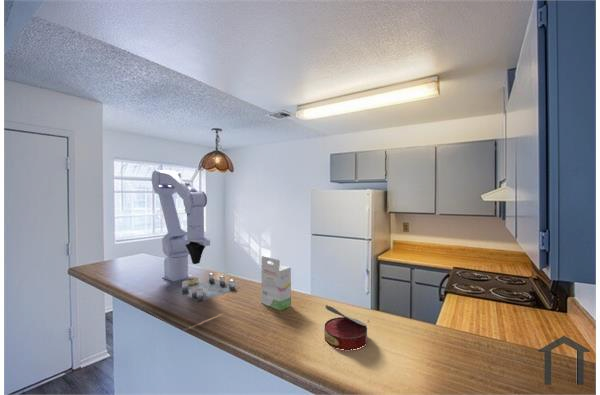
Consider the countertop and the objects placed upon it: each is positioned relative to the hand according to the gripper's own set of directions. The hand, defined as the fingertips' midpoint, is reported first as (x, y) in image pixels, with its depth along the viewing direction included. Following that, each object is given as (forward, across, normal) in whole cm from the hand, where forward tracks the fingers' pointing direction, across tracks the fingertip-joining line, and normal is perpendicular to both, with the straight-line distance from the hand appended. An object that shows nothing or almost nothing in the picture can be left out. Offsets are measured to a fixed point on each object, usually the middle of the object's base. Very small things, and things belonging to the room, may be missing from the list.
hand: (196, 263), depth 102 cm
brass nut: (+9, -4, 0) cm, 9 cm away
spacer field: (+8, +7, 0) cm, 11 cm away
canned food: (+8, +60, +2) cm, 60 cm away
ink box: (+8, +34, +6) cm, 35 cm away
